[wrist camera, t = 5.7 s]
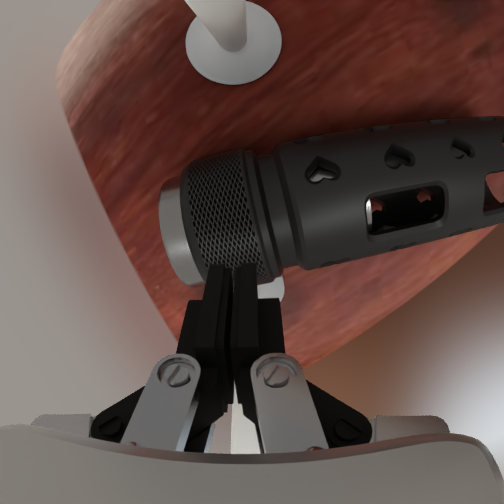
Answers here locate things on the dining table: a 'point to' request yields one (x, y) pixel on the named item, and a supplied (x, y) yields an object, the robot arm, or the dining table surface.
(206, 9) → the post
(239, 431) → the cord post
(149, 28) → the dining table surface
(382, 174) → the muzzle brake
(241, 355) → the robot arm
